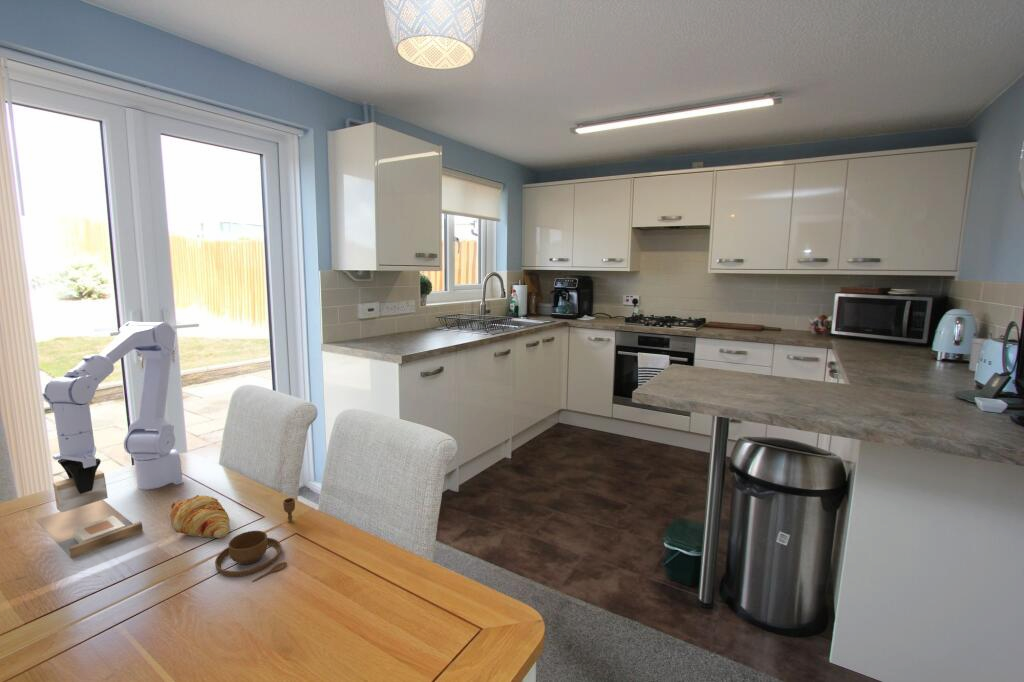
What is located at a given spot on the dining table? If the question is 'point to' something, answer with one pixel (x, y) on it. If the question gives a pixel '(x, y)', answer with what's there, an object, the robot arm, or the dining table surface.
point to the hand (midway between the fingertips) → (83, 489)
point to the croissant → (200, 517)
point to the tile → (97, 529)
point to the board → (66, 521)
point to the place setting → (253, 549)
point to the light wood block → (72, 498)
